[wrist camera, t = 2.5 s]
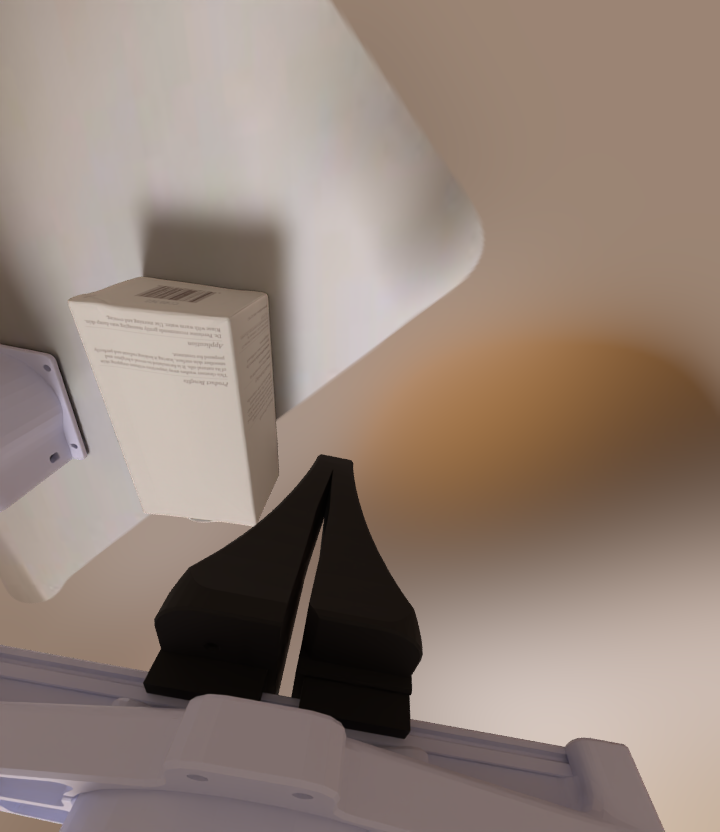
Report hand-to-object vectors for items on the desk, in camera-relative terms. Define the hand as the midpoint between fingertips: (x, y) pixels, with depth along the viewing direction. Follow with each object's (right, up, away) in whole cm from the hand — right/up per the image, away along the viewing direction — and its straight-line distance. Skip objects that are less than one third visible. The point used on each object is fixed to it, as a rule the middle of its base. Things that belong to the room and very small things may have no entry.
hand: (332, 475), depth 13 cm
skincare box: (-8, +9, +4) cm, 13 cm away
